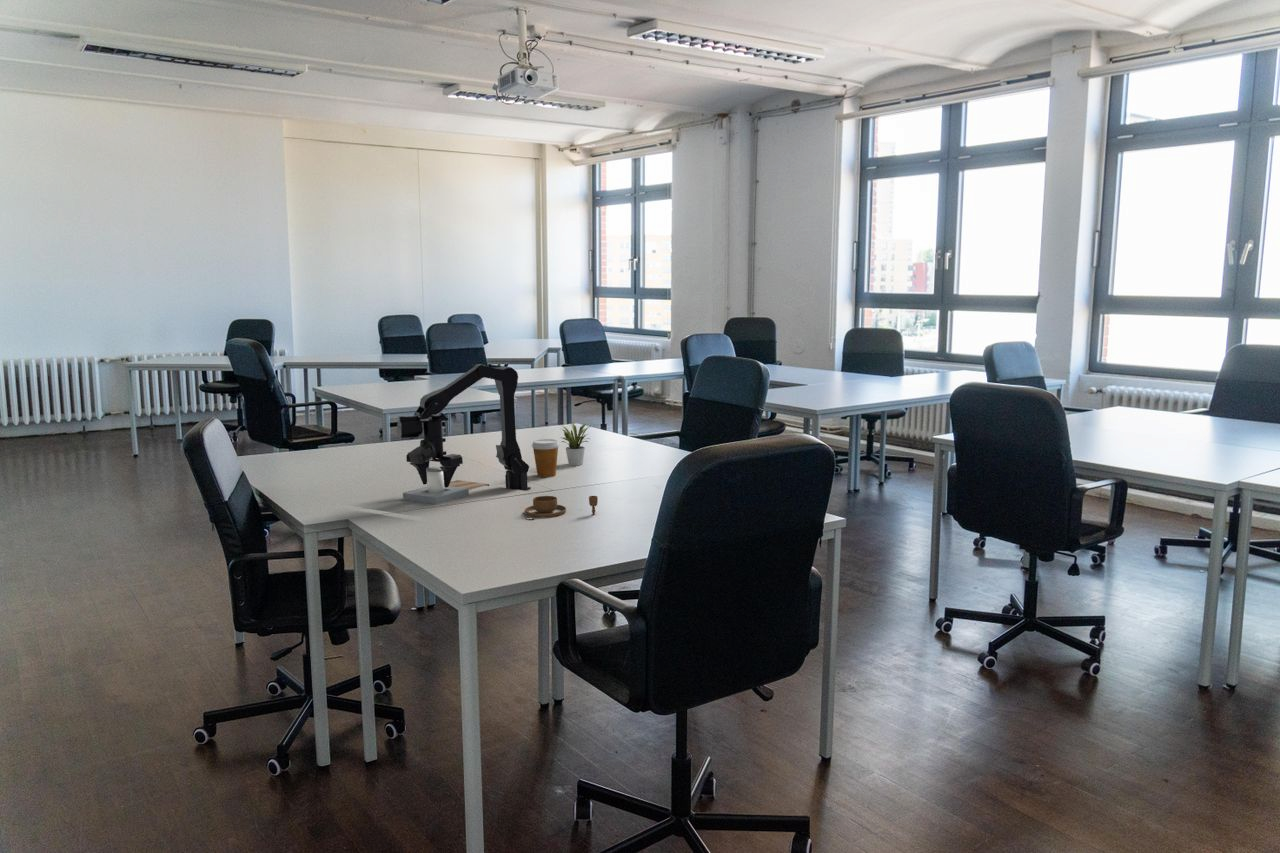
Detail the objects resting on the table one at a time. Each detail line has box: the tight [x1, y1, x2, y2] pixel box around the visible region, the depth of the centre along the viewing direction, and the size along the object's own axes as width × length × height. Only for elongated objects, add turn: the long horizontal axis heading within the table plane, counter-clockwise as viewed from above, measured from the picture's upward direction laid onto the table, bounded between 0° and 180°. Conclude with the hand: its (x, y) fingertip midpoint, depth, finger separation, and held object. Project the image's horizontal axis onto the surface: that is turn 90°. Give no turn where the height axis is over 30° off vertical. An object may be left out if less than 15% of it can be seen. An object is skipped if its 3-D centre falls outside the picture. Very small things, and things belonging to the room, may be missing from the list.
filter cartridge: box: [426, 466, 444, 494], centre depth 279 cm, size 5×5×9 cm
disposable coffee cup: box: [531, 438, 560, 478], centre depth 314 cm, size 10×10×12 cm
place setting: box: [523, 495, 599, 521], centre depth 259 cm, size 18×20×6 cm
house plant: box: [559, 422, 596, 466], centre depth 333 cm, size 14×14×16 cm
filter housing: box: [402, 485, 470, 505], centre depth 280 cm, size 14×14×3 cm
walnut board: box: [449, 479, 490, 491], centre depth 295 cm, size 14×14×1 cm
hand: (435, 485), depth 279 cm, fingers open, 9 cm apart
